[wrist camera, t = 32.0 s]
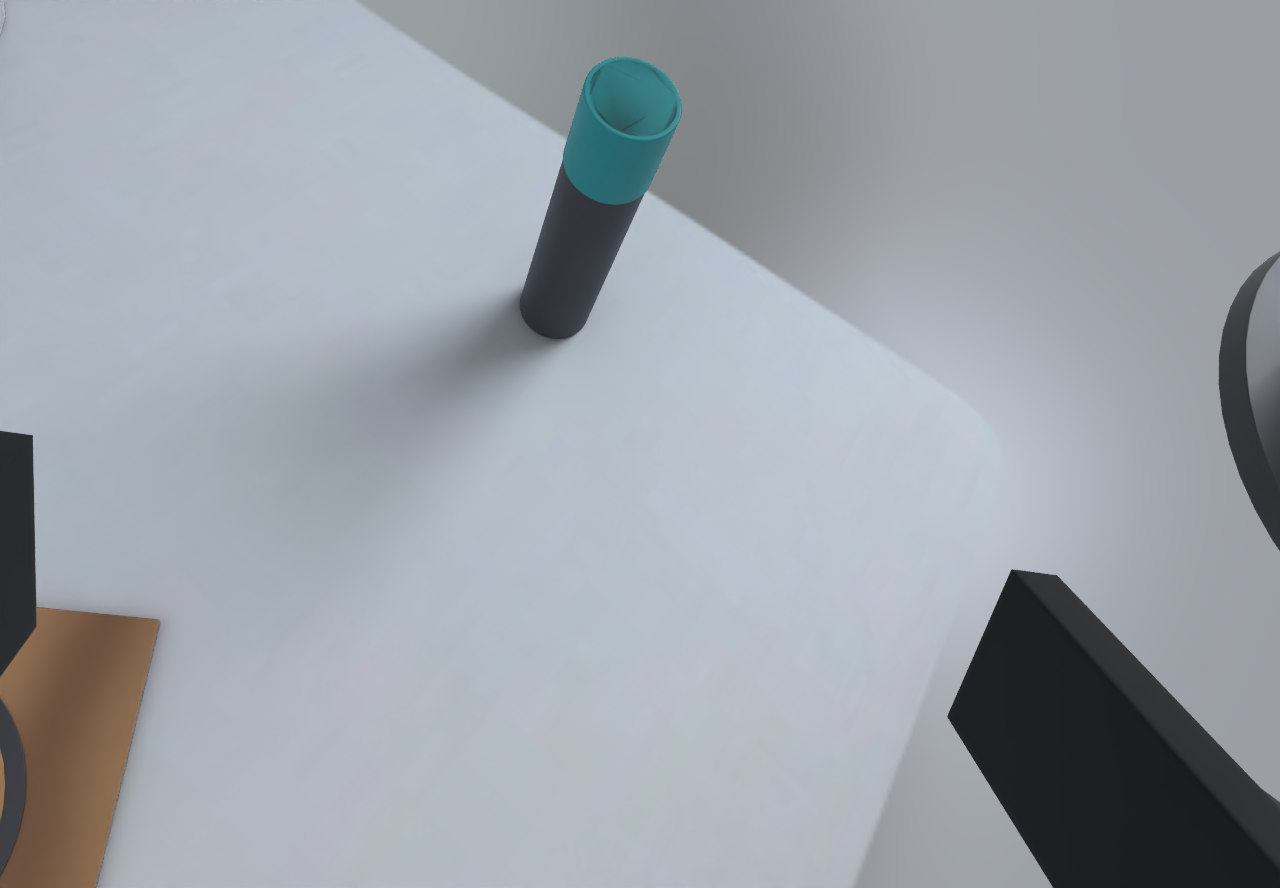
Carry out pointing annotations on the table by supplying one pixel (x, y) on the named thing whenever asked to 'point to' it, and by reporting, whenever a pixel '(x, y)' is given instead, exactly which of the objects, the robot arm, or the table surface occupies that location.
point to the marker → (598, 190)
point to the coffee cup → (2, 14)
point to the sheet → (67, 743)
